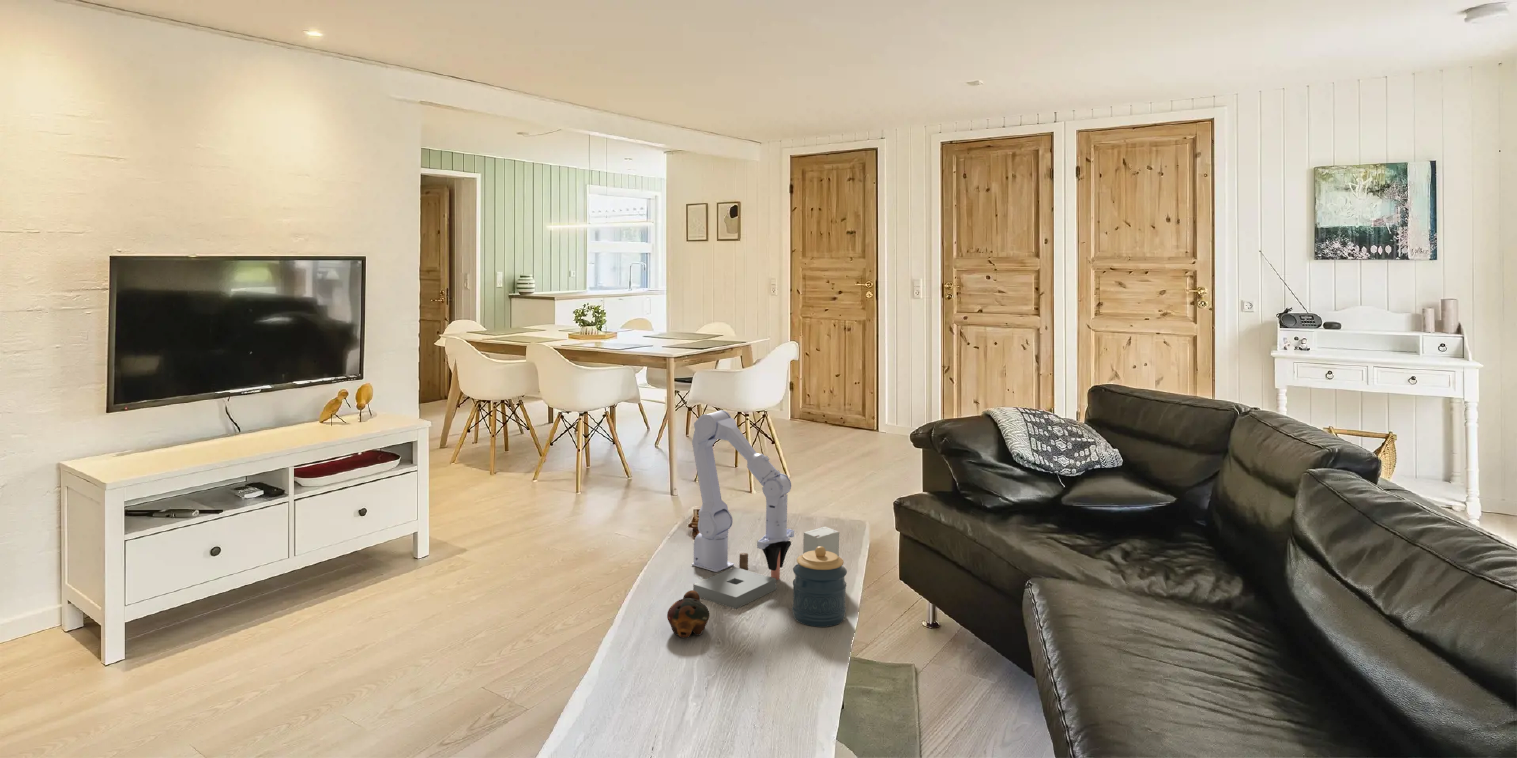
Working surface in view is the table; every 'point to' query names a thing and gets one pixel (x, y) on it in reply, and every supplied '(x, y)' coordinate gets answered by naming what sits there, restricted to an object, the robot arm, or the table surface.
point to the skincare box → (821, 540)
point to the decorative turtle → (688, 615)
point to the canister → (819, 588)
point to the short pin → (743, 561)
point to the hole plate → (735, 587)
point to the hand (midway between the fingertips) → (775, 568)
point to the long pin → (777, 572)
